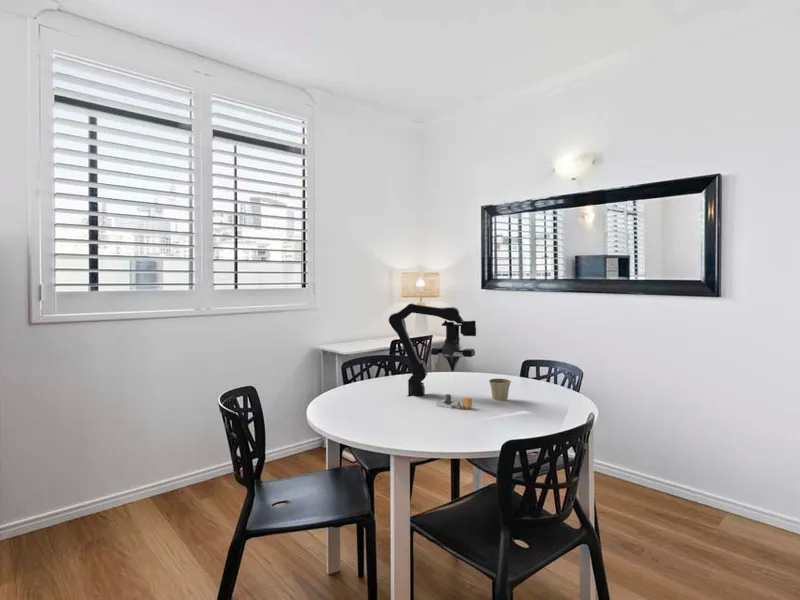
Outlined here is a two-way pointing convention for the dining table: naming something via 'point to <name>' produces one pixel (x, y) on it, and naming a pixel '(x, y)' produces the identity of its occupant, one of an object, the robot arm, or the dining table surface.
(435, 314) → the robot arm
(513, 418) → the dining table surface
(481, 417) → the dining table surface
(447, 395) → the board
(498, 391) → the flower pot
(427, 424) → the dining table surface
